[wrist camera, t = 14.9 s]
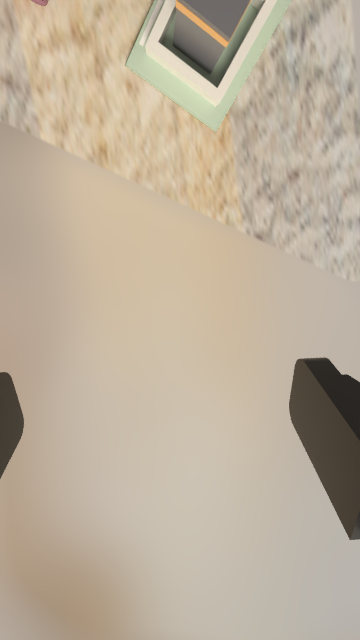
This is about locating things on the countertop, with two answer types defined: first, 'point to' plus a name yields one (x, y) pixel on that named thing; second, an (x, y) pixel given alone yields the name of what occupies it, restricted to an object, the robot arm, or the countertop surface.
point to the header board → (189, 78)
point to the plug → (206, 28)
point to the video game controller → (41, 2)
